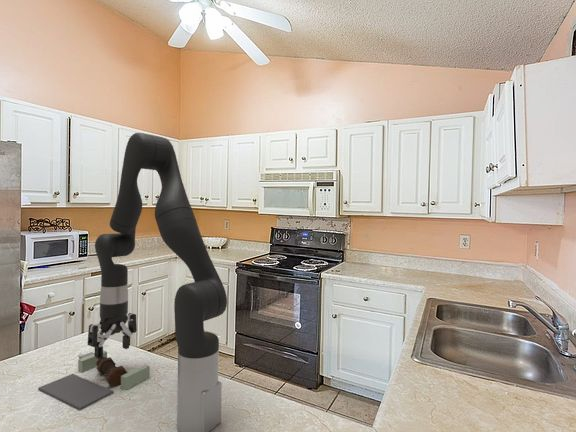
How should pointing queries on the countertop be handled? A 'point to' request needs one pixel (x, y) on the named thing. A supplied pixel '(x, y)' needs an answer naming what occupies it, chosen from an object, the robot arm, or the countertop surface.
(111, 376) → the bolt
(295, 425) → the countertop surface
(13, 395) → the countertop surface
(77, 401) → the mat
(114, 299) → the robot arm
